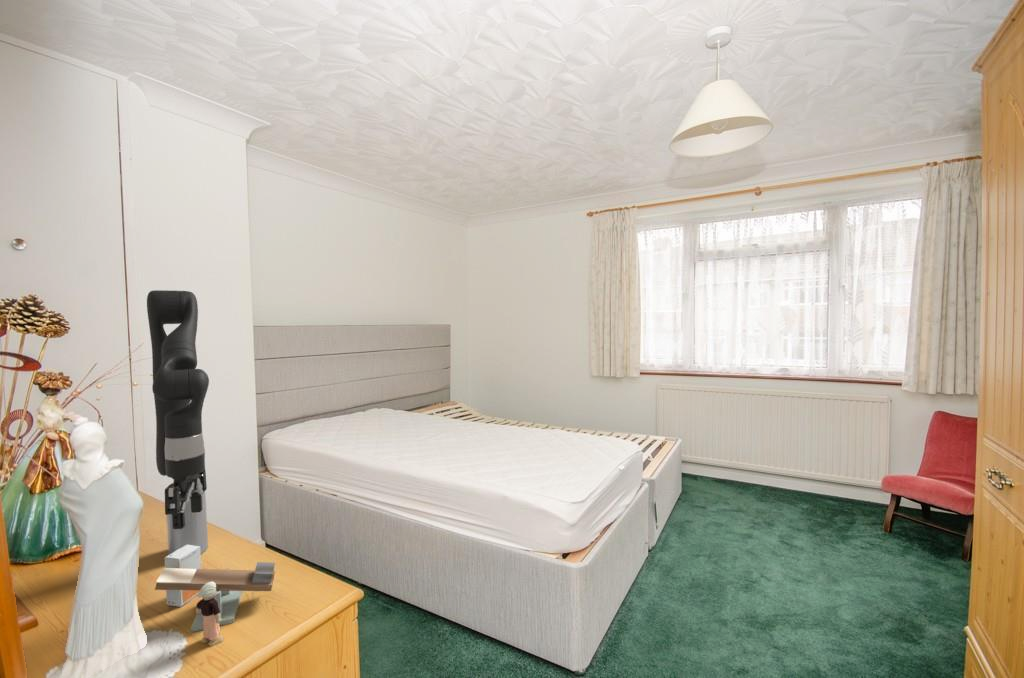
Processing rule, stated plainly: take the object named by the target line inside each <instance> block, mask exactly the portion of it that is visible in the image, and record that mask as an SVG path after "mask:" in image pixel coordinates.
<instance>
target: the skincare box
mask: <svg viewBox="0 0 1024 678" xmlns="http://www.w3.org/2000/svg"><path fill="white" fill-rule="evenodd" d="M201 554H202V553H201V550H200V546H194V545H185V546H184V547H182V548H180V549H178V550H176V551H174V552H173V553H172V554H170V555H169V554H168V555H166V556H165V557H164V568H185V569H202V556H201ZM165 591H166V592H165V594H166V597H165V598H166V605H168V606H173V607H179V608H181V607H183V606H184V605H186V603H188V602H190V601H191V600H193V599H194V598H195V597H198V594H199V591H200V590H165Z"/></svg>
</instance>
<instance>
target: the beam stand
mask: <svg viewBox="0 0 1024 678" xmlns="http://www.w3.org/2000/svg"><path fill="white" fill-rule="evenodd" d="M222 570H230V568H224V569H223V568H222ZM243 592H244V591H217V592H216V595H215V597H214V599H215V600H216V601H217V602H218V607H219V609H220V615H221V617H220V618H221V622H220V623H219V626H223V625H228V624H232V623H235V619H236V615H237V612H238V609H239V605H240V601H241V598H242V595H243ZM203 618H204V617H203V615H202V613H201V611H200V612H199V613H197V612H196V615H195V617H194V620H193V622H192V625H191V627H190V630H191V631H190V632H191V633H194V632H199V631H201V630H203ZM203 631H204V630H203Z"/></svg>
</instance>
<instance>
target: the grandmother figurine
mask: <svg viewBox="0 0 1024 678" xmlns="http://www.w3.org/2000/svg"><path fill="white" fill-rule="evenodd" d="M215 595H216V583H214V582H208V583H206V584H205V585H204V586H203V587H202V588H201V589H200V591H199V594H198V595H197V597H198V598H200V600H199V601H198V602H197V603H196V604H195V605H196V608H195V613H196V614H197V613H199V612H200V611H201V613H202V615H203V617H204V618H203V638H201V643H203V644H206V643H208V646H209V647H214V646H215V645H218V644H220V643H222V642H223V641H224V639H225V638H224V636H223V635H222V634H220V632H221V627H220V626H221V625H220V626H219V623H220V622H221V618H220V617H221V615H220V609H219V607H218V602H217V601H216V600H215V599H214V597H215Z"/></svg>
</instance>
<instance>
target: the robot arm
mask: <svg viewBox="0 0 1024 678" xmlns="http://www.w3.org/2000/svg"><path fill="white" fill-rule="evenodd" d="M197 300H198V299H197V297H196V294H194V292H192V291H188V290H162V289H161V290H158V289H157V290H150V291H149V292H148V293H147V297H146V309H147V310H146V312H147V319H148V327H149V335H150V342H151V356H152V393H153V398H154V406H155V407H154V409H155V422H156V436H155V437H156V438H155V442H156V443H155V444H156V445H155V459H156V461H155V462H156V469H157V471H158V474H160V475H161V476H163V477H164V476H166V477H168V478H171V479H172V480H173V483H171V484H169V485H168V486H167V487H166V488H165V489H164V514H165V515H166V528H167V543H168V544H167V545H168V546H167V547H168V555H170V554H172V553H173V552H174V551H176V550H178V549H180V548H182V547H184V546H185V545H194V546H200V550H201V554H202V553H204V552H206V551H207V550H208V548H209V540H208V536H209V535H208V520H207V500H206V498H207V497H206V491H207V488H208V487H207V485H208V484H207V475H206V474H207V473H206V462H205V458H206V452H205V451H206V450H205V442H204V436H203V435H204V434H203V429H202V428H203V422H202V415H203V413H202V412H203V406H204V402H205V399H206V396H207V392H208V390H209V389H208V388H209V384H210V378H209V376H208V374H207V373H206V372H205V370H203V369H201V368H197V366H198V358H197V348H196V340H197V338H196V337H197V331H198V319H199V318H198V317H199V316H198V315H199V307H198V301H197ZM164 325H178V326H177V327H175V328H174V329H173V330H172V331H171V332H170V333H169V334H168V335H167V333H166V331H165V329H164V328H165V327H164Z"/></svg>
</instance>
